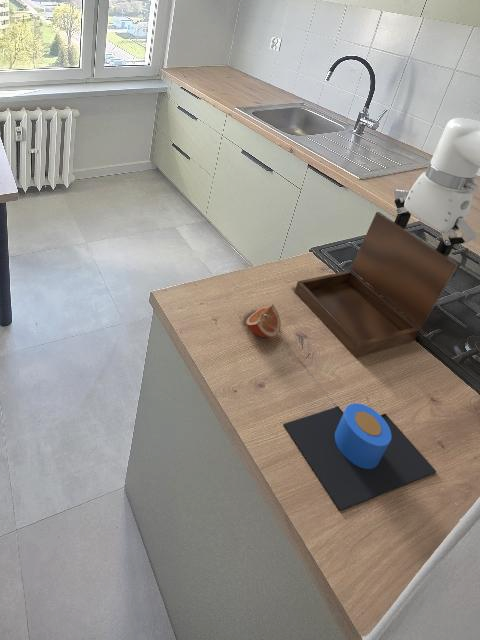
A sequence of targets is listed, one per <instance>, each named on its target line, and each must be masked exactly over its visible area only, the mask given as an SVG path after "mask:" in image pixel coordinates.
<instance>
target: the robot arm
mask: <svg viewBox="0 0 480 640" xmlns="http://www.w3.org/2000/svg"><path fill="white" fill-rule="evenodd" d="M479 170H480V120H477V119H473V118H467V117H455V118H452V119H450V120H448V121H447V123H446V125H445V127H444V130H443V132H442V134H441V136H440V138H439V141H438V144H437V146H436V148H435V150H434V152H433V155H432V158H431V160H430V162H429V164H428V166H427V169H426V171H423V172H422V173H421V174H420V175H419V176H418V178H416V181H415V182H414V183H413V185H412V186H411V188H410V190H408V189H395V190H394V191H393V195H394V205H395V206H396V209H395V211H396V214H397V215H396V216H395V217H396V218H395V220H394V222H395V223H396V224H398V225H399V226H401V227H402V228H404V229H406V228H407V226H408V223H409V221H410V219H411V218H412V217H411V216H412V215H413V216H414V217H416V218H418V219H419V220H421V221H422V222H424V223H425V224H426V225H428V226H430V227H431V228H433V229H435V230H437V231H438V232H440V235H441V237H442V238H441V239H442V240H441V241H440V242H438V244H437V247H436V248H435V249H436V250H437V251H439V252H440V253H442V254H443V255H445V256H446V257H448V256H449V255H450V254H451V252H452V251H453V248H454V246H455V245H462V244H467V243H468V242H470V241H473V240H475V239H476V238H477V234H476V233H475V232H474V230H473V229H472V228H471V227H470V225H469V224H468V222H466V220H467V218H468V216H469V212H470V209H471V206H472V203H473V197H474V191H477V190H478V189H479V187H480V185H479V184H477V183H476V182H475V180H476V176H477V174H478V172H479ZM405 197H406V198H405ZM404 198H405V199H404ZM457 231H460V232H461V233H462V235H461V236H458V232H457Z"/></svg>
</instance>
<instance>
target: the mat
mask: <svg viewBox="0 0 480 640" xmlns="http://www.w3.org/2000/svg"><path fill="white" fill-rule="evenodd" d="M343 413H344V411H343V410H342V409H341V408H340V406H335V407H331V408H328V409H326V410H323V411H319V412H316V413H313V414H310V415H307V416H303V417H301V418H298V419H294V420H291V421H289V422H288V421H287V422H285V423H283V428H285V430H286V432H287V433H288V434H289V436H290V438H291V439H292V441H293V442H294V444H295V445H296V448H297V449H298V450H299V451H300V453H301V454H302V456H303V458H304V459H305V461H306V462H307V464H308V465H309V467H310V469H311V470H312V471H313V473H314V475H315V476H316V477H317V479H318V481H319V482H320V483H321V486H322V487H323V488H324V490H325V491H326V493H327V495H328V496H329V497H330V499H331V501H332V502H333V504H334V505H335V507H336V508H337V510H338V511H339V512H342V511H345V510H347V509H349V508H352V507H354V506H356V505H359V504H362V503H365V502H367V501H370V500H372V499H374V498H377V497H379V496H381V495H385V494H386V493H389V492H391V491H394V490H396V489H400V488H401V487H404V486H406V485H409V484H412V483H414V482H416V481H419V480H421V479H424V478H426V477H429V476H431V475H434V474H436V473H437V471H438V470H436V469H435V467H433V466H432V465H431V463H430V462H429V460H427V458H426V457H425V456H424V455H423V454H422V453H421V452H420V451H419V450H418V448H417V447H416V446H415V445H414V444H413V443H412V441H410V439H409V438H407V436H406V435H405V434H404V432H403V431H401V429H400V428H399V427H398V426H397V425H396V423H395V422H394V421H393V420H392V418H390V417H389V416H388V415H387V413H382V414H380V415H381V416H382V418H383V419H384V420H385V421H386V423H387V424H388V426H389V428H390V430H391V435H392V438H391V441H390V443H389V445H388V447H387V449H386V451H385V452H384V454H383V456H382V458H381V460H380V462H379V464H378V465H377V466H376V467H375V468H372V469H365V468H361V467H359V466H356V465H355V464H353V463H352V462H350V461H349V460H348V459H347V458H346V457H345V456H344V455H343V454H342V453H341V451H340V450H339V448H338V446H337V444H336V441H335V431H336V429H337V427H338V425H339V422H340V420H341V418H342V416H343Z"/></svg>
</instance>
